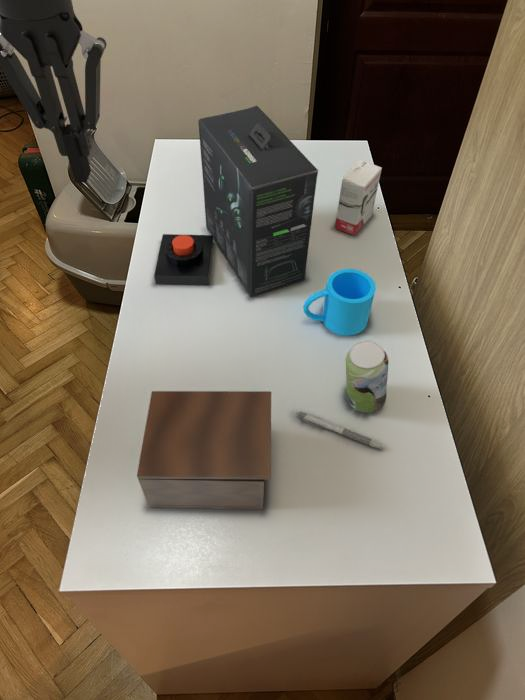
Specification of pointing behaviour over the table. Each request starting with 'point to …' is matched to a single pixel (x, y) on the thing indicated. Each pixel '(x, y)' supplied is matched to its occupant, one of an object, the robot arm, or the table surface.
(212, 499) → the chest
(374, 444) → the pen
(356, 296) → the mug
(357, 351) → the beverage can
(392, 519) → the table surface
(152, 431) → the brown wooden lid
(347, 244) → the table surface
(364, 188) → the ink box
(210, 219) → the headset box
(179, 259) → the button block
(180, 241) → the button
